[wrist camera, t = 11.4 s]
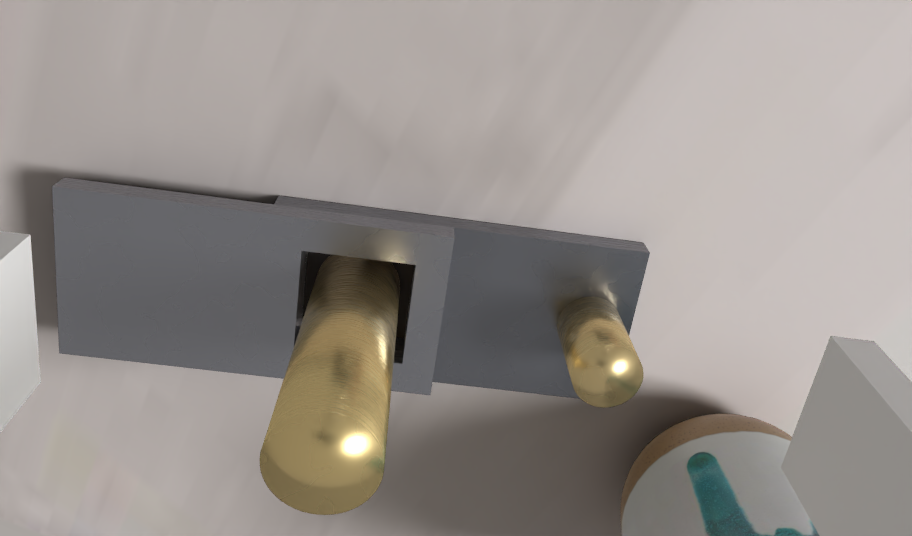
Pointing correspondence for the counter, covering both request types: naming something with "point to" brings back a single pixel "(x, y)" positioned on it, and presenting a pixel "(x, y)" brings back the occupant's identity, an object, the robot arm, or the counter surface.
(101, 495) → the counter surface
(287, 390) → the pin
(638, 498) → the vase
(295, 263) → the grey slide latch
